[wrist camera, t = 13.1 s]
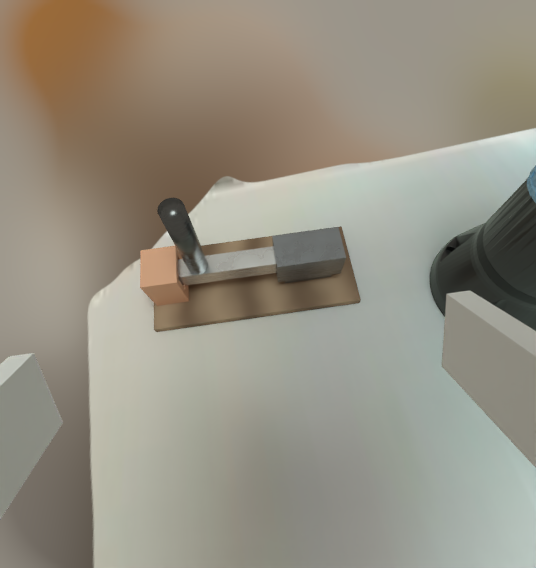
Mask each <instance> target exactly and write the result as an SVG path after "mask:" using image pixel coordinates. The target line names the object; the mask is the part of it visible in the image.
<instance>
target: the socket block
mask: <svg viewBox="0 0 536 568" xmlns="http://www.w3.org/2000/svg"><path fill="white" fill-rule="evenodd" d="M178 259H182V257H181V255H180V253H179V252H178V250H177V248H176V246H170V247H163V248H156V249H149V250H141V272H140V288H141V289H142V290H143V291H144V292H145V293H146V294H147V295H148V296H149V298H150V299H151V300H152V301H153V302H154V303H155V304H156V305H157V306H160V305H167V304H174V303H181V302H188V301H189V289H188V285H185V286H182V284H181V282H180V281H179V279H178Z"/></svg>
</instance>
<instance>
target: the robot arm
mask: <svg viewBox="0 0 536 568" xmlns="http://www.w3.org/2000/svg"><path fill="white" fill-rule="evenodd" d="M430 285H431V290H432V294H433V296H434V299H435V301H436V303H437V305H438V307H439V308H440V310H441V311H442V313H443V314H444V315H445V325H444V340H443V356H442V367H443V368H444V369H445V370H446V371H447V372H448V373H449V375H450V376H451V377H452V378H453V379H454V380H455V381H456V382H457V383H458V384H459V385H460V386H461V387H462V389H463V390H464V391H465V392H466V393H467V394H468V395H469V396H470V397H471V398H472V399H473V400H474V402H475V403H476V404H477V405H478V406H479V407H480V408H481V409H482V410H483V411H484V412H485V413H486V414H487V416H488V417H489V418H490V419H491V420H492V421H493V422H494V423H495V424H496V425H497V426H498V427H499V428H500V430H501V431H502V432H503V433H504V434H505V435H506V436H507V437H508V438H509V439H510V440H511V441H512V442H513V444H514V445H515V446H516V447H517V448H518V449H519V450H520V451H521V452H522V453H523V454H524V455H525V457H526V458H527V459H528V460H529V461H530V462H531V463H532V464H533V465H534V466H535V467H536V166H535V167H534V168H533V170H532V171H531V172H530V175H529V177H528V179H527V180H526V181H525V182H524V183H523V184H522V185H521V186H520V187H519V188H518V189H517V191H516V192H515V193H514V194H513V195H512V196H511V197H510V198H509V199H508V200H507V201H506V202H505V203H504V204H503V205H502V206H501V207H500V208H499V209H498V210H497V211H496V212H495V213H494V215H493V216H492V217H491V218H490V219H489V220H488V221H487V222H486V223H484V224H482V225H479V226H477V227H475V228H473V229H470V230H468V231H466V232H464V233H461V234H459V235H458V236H456V237H455V238H453V239H452V240H450V241H449V242H448V243H447V244H446V245H445V246H444V248H443V249H442V250H441V251H440V252H439V254H438V255H437V256H436V258H435V260H434V262H433V264H432V268H431V273H430ZM62 423H63V421H62V419H61V417H60V414H59V412H58V409H57V407H56V405H55V402H54V400H53V398H52V395H51V393H50V390H49V388H48V386H47V384H46V381H45V378H44V376H43V374H42V371H41V369H40V367H39V364H38V362H37V359H36V357H35V354H34V353H30V354H23V355H16V356H9V357H8V358H7V359H6V360H5V361H4V362H2V363H1V364H0V519H1V518H2V516H3V514H4V513H5V511H6V510H7V508H8V507H9V505H10V504H11V502H12V500H13V499H14V498H15V496H16V494H17V493H18V491H19V490H20V488H21V486H22V485H23V484H24V482H25V481H26V479H27V477H28V476H29V474H30V473H31V471H32V470H33V468H34V467H35V465H36V464H37V462H38V460H39V459H40V457H41V456H42V454H43V452H44V451H45V450H46V448H47V446H48V445H49V443H50V442H51V440H52V438H53V437H54V436H55V434H56V433H57V431H58V429H59V428H60V426H61V425H62Z"/></svg>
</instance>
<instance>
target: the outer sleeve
mask: <svg viewBox="0 0 536 568" xmlns="http://www.w3.org/2000/svg"><path fill="white" fill-rule="evenodd" d="M272 242H273V246H274V251H275V257H276V263H277V273H276V274H277V280H278V282H282V281H285V283H292V282H299V281H306V280H313V279H320V278H327V277H331V275H332V274H339V273H341V271H342V268H343V265H344V263H345V260H346V255H345V251H344V247H343V243H342V239H341V235H340V231H339V228H338V227H334V228H326V229H319V230H312V231H305V232H297V233H290V234H283V235H276V236H272Z"/></svg>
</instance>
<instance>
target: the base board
mask: <svg viewBox="0 0 536 568" xmlns="http://www.w3.org/2000/svg"><path fill="white" fill-rule="evenodd" d="M338 228H339V231H340V235H341V239H342V243H343V247H344V251H345V255H346V260H345V263H344V265H343V268H342V271H341V273H339V274H332V275H331V277H327V278H320V279H313V280H306V281H299V282H292V283H285V281H282V282H278V280H277V274H276V273H271V274H263V275H256V276H249V277H242V278H235V279H228V280H221V281H214V282H206V283H199V284H192V285H188V289H189V301H188V302H181V303H174V304H167V305H160V306H157V305H156V304H155V303H154V330H155V331H156V332H159V331H166V330H173V329H180V328H187V327H194V326H201V325H208V324H215V323H222V322H229V321H236V320H243V319H250V318H257V317H264V316H271V315H278V314H285V313H292V312H299V311H306V310H313V309H320V308H327V307H334V306H341V305H348V304H355V303H359V302H360V300H361V299H360V296H359V292H358V288H357V284H356V280H355V277H354V273H353V269H352V265H351V261H350V258H349V254H348V250H347V246H346V242H345V239H344V235H343V231H342V227H338ZM272 246H273V242H272V236H269V237H262V238H255V239H248V240H240V241H233V242H226V243H219V244H211V245H204V246H201V248H202V250H203V252H204V255H205V256H207V255H214V254H221V253H229V252H236V251H243V250H250V249H257V248H265V247H272ZM178 252H179V251H178Z"/></svg>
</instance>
